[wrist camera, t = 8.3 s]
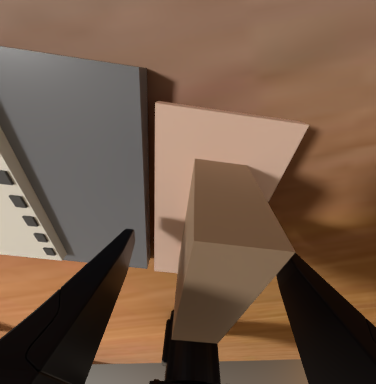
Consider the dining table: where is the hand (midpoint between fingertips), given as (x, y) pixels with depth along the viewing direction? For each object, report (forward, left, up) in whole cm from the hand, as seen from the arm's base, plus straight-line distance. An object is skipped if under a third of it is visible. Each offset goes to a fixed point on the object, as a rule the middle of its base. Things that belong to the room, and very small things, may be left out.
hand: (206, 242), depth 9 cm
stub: (0, 0, -2) cm, 2 cm away
